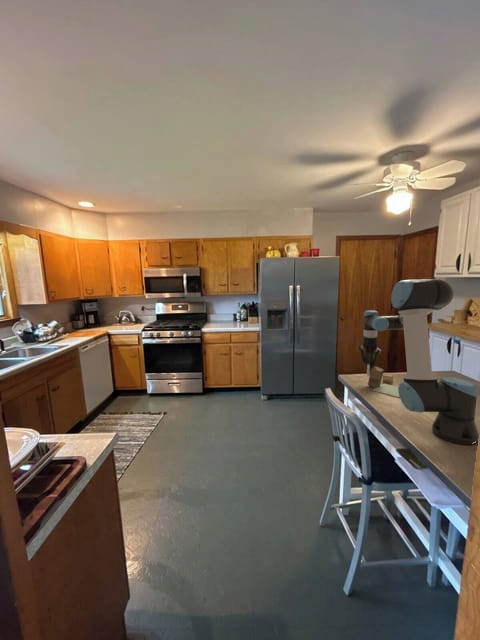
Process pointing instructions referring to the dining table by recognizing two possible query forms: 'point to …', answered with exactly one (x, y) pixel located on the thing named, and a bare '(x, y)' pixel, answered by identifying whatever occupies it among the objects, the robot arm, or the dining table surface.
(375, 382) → the wooden block
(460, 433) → the robot arm
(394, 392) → the mat
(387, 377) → the oak cube
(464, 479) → the dining table surface
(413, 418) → the dining table surface
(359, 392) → the dining table surface
